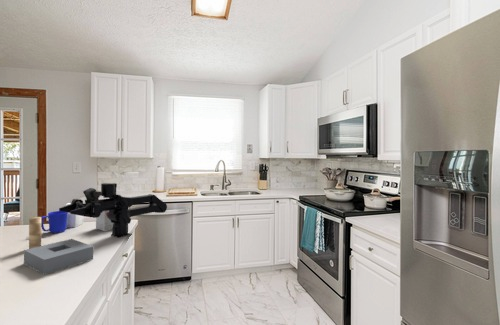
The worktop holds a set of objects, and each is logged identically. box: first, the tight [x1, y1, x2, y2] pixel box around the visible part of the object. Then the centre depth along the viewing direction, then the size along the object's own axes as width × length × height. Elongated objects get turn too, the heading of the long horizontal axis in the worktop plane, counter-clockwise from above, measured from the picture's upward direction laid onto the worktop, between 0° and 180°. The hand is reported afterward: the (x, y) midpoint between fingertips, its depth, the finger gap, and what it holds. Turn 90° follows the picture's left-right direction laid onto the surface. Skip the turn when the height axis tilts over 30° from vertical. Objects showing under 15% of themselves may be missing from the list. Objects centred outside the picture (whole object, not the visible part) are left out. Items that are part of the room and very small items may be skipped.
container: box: [65, 201, 84, 228], centre depth 147 cm, size 8×8×13 cm
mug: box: [40, 210, 68, 234], centre depth 133 cm, size 8×12×10 cm
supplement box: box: [95, 210, 114, 232], centre depth 144 cm, size 9×9×15 cm
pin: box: [28, 216, 42, 249], centre depth 111 cm, size 4×4×13 cm
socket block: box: [23, 238, 94, 275], centre depth 99 cm, size 16×16×5 cm
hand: (64, 211), depth 110 cm, fingers open, 9 cm apart
